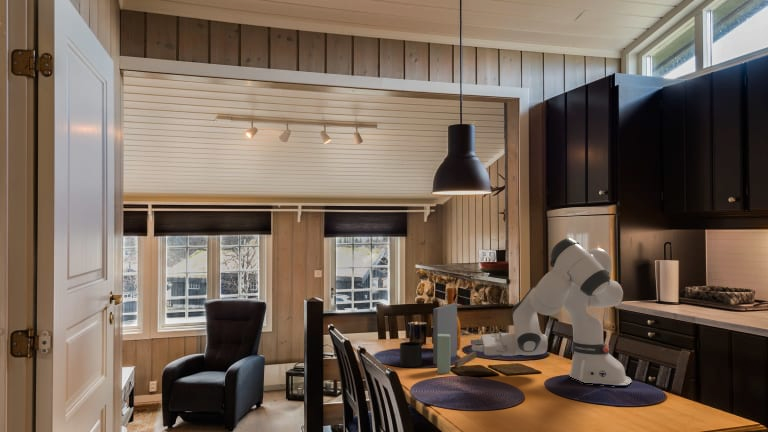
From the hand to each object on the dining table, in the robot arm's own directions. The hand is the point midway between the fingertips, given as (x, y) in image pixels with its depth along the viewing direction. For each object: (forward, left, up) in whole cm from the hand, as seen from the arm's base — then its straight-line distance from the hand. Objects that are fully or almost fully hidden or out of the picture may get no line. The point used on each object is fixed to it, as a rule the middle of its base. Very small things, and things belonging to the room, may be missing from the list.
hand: (471, 344), depth 216 cm
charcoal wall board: (+14, -16, -11) cm, 24 cm away
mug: (+28, 0, -12) cm, 31 cm away
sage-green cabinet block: (+10, +4, -11) cm, 16 cm away
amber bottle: (+25, -38, -12) cm, 47 cm away
